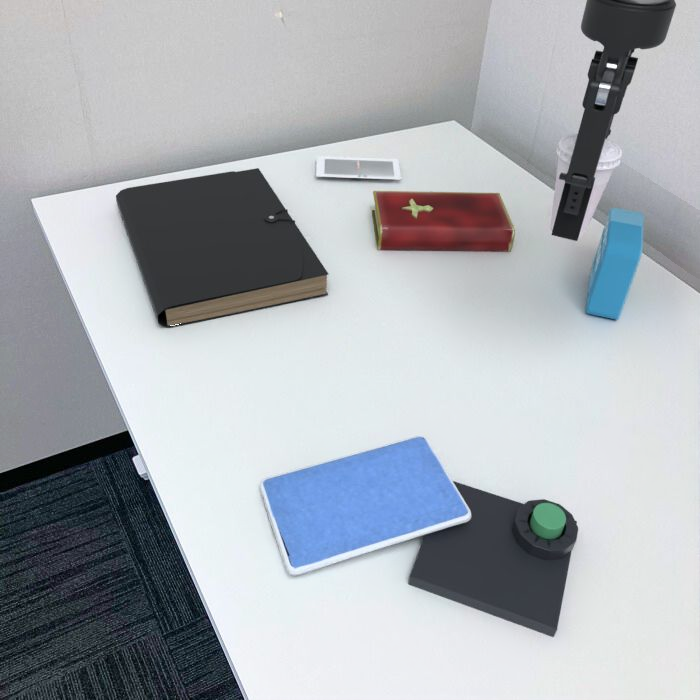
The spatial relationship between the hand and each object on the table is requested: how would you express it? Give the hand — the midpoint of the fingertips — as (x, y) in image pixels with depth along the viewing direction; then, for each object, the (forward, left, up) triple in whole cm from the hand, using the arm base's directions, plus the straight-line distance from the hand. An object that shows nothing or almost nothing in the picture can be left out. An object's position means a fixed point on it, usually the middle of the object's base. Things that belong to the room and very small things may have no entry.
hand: (570, 220), depth 80 cm
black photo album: (+50, -9, -23) cm, 55 cm away
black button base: (-2, +28, -23) cm, 36 cm away
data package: (-7, -22, -23) cm, 33 cm away
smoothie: (0, 0, -1) cm, 1 cm away
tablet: (+12, +28, -22) cm, 38 cm away
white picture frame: (+39, -42, -23) cm, 62 cm away
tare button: (-6, +24, -20) cm, 32 cm away
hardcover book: (+20, -29, -23) cm, 42 cm away
